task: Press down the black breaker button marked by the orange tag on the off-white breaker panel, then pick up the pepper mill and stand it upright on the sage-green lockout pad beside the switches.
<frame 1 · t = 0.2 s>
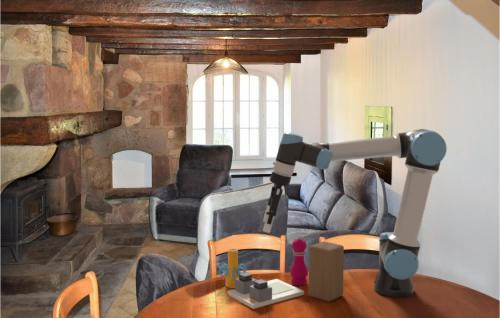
hand: (266, 226, 193), 27 cm above the table, tool tilted 15°, fingers open, 13 cm apart
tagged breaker: (260, 287, 190), point 6 cm above the table, slide at 0.0 cm
breaker panel: (265, 294, 198), on the table
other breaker: (245, 279, 198), point 6 cm above the table, slide at 0.0 cm
pepper mill: (299, 283, 211), on the table
wooden block: (325, 296, 197), on the table
yellow post with loops: (233, 286, 208), on the table
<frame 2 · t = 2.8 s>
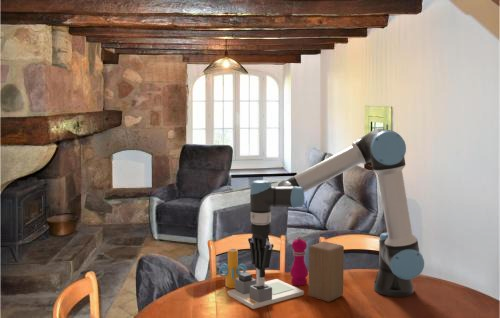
hand: (260, 284, 190), 7 cm above the table, tool pointing down, fingers closed
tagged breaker: (260, 291, 190), point 4 cm above the table, slide at 1.6 cm, touching gripper
everything else where it was.
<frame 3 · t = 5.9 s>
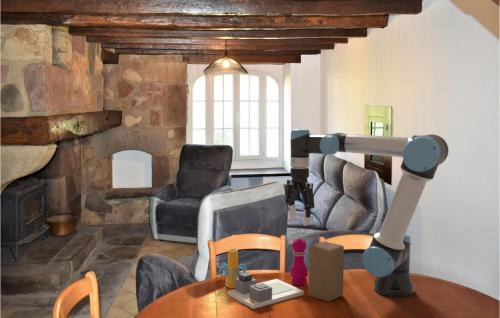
hand: (299, 222, 208), 25 cm above the table, tool pointing down, fingers open, 8 cm apart
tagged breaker: (260, 291, 190), point 4 cm above the table, slide at 1.8 cm
everything else where it was.
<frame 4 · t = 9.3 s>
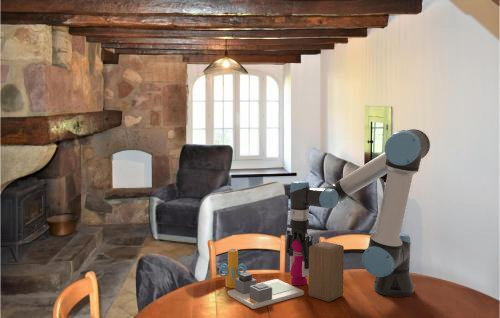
hand: (299, 273, 211), 4 cm above the table, tool pointing down, fingers closed on pepper mill, 7 cm apart
pepper mill: (299, 283, 211), on the table, touching gripper
everything else where it was.
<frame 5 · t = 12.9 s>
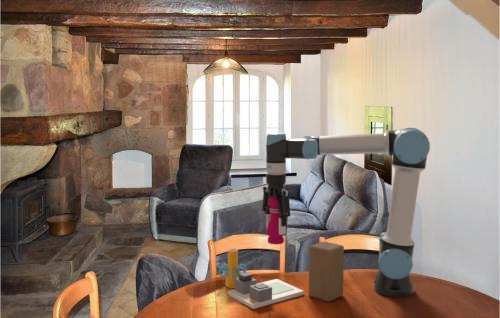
hand: (275, 231, 198), 24 cm above the table, tool pointing down, fingers closed on pepper mill, 7 cm apart
pepper mill: (275, 242, 199), point 20 cm above the table, touching gripper
everything else where it was.
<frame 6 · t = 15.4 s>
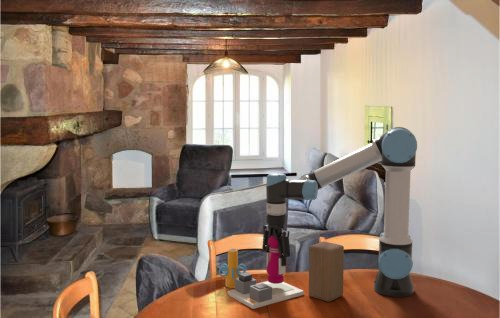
hand: (275, 270, 200), 9 cm above the table, tool pointing down, fingers closed on pepper mill, 7 cm apart
pepper mill: (275, 281, 201), point 4 cm above the table, touching gripper
everything else where it was.
when the fingers open (7 cm above the table, at t = 16.6 s): pepper mill drops 1 cm, resting on breaker panel.
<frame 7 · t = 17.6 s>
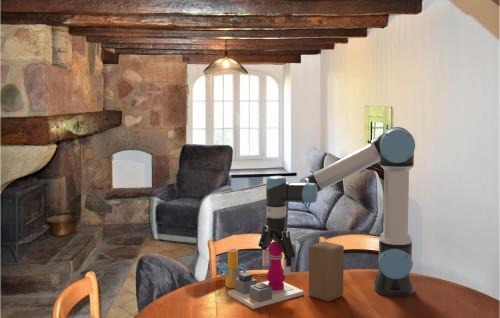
hand: (276, 269, 200), 9 cm above the table, tool pointing down, fingers open, 13 cm apart
pepper mill: (276, 288, 201), point 2 cm above the table, touching breaker panel
everything else where it was.
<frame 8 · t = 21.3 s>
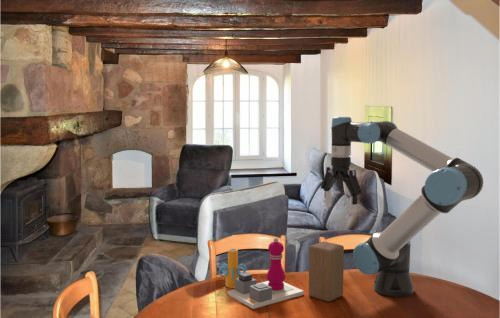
hand: (340, 209, 203), 32 cm above the table, tool pointing down, fingers open, 13 cm apart
nothing on the table moved.
at the end: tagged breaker slide at 1.8 cm; pepper mill 0.0 cm from the target spot on the breaker panel, point 1.5 cm above the breaker panel's base; pepper mill tilted 0° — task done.
